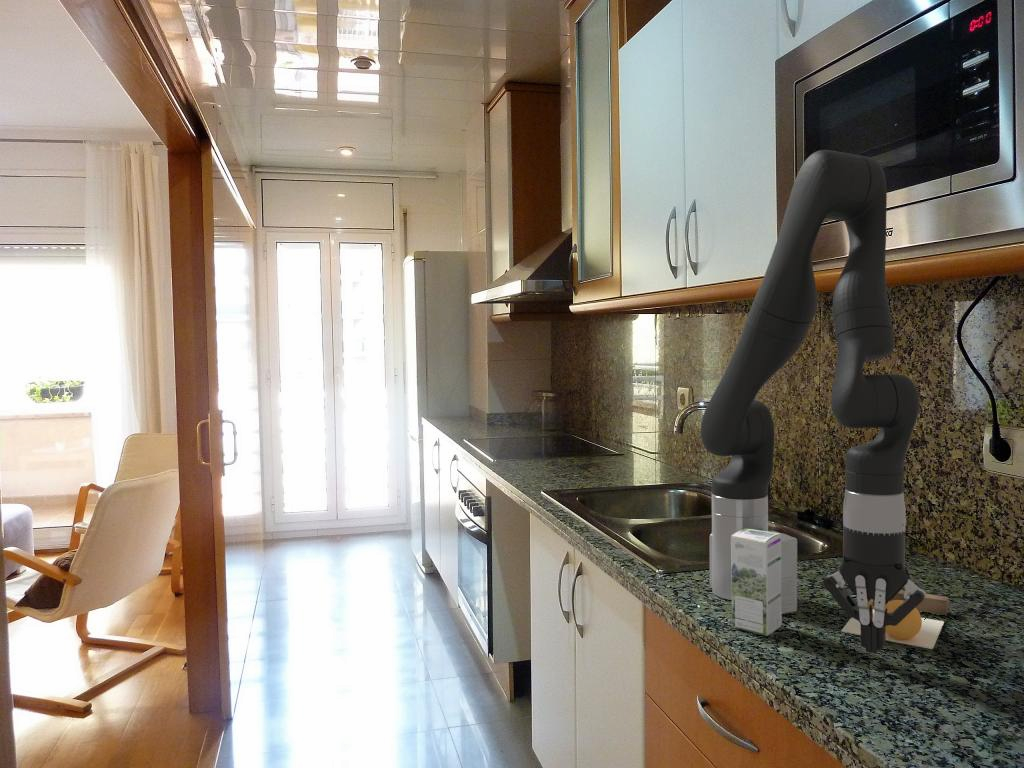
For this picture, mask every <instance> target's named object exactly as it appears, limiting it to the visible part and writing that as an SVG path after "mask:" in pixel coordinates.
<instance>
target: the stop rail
mask: <svg viewBox="0 0 1024 768" xmlns="http://www.w3.org/2000/svg"><path fill="white" fill-rule="evenodd" d="M904 593H905V590H904V589H901V590H900V591H899V592H898V593H897V594H896V596H895V597H894V598H893V599H891V600H890V601H893V600H903V601H905V600H906V599H905V598H904ZM890 601H889V602H890ZM874 603H875V600H873V603H872V605H874ZM915 608H916V609H917V610H918V611H924V612H930V613H935V614H940V615H946V617H947V616H948V614H947V613H949V597H948V596H942V595H937V594H932V593H931V594H929V593H926V596H925V597H924V599H923V601H922V602H921V603H920V604H918V605H917V606H916V607H915Z"/></svg>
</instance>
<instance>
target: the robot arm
mask: <svg viewBox="0 0 1024 768" xmlns="http://www.w3.org/2000/svg"><path fill="white" fill-rule="evenodd" d="M887 193H888V191H887V181H886V173H885V170H884V169H883V166H882V165H881V163H880V162H879V161H878V160H876V159H875V158H872V157H868V156H866V155H865V156H864V155H860V154H853V153H847V152H841V151H837V150H830V149H820V150H817V151H815V152H813V153H811V154H810V155H809V156H808V157H807V158H806V159H805V161H804V162H803V164H802V165H801V166H800V168H799V170H798V172H797V175H796V178H795V181H794V182H793V185H792V188H791V192H790V194H789V199H788V201H787V206H786V209H785V213H784V216H783V219H782V224H781V227H780V230H779V233H778V236H777V240H776V242H775V246H774V249H773V251H772V255H771V258H770V259H769V263H768V265H767V268H766V271H765V273H764V276H763V278H762V280H761V283H760V286H759V288H758V290H757V292H756V295H755V297H754V299H753V301H752V304H751V307H750V309H749V312H748V315H747V317H746V320H745V323H744V326H743V328H742V331H741V334H740V336H739V338H738V341H737V344H736V346H735V348H734V350H733V352H732V355H731V357H730V360H729V362H728V365H727V366H726V369H725V370H724V373H723V375H722V377H721V379H720V381H719V383H718V384H717V387H716V388H715V390H714V393H713V394H712V396H711V398H710V400H709V401H708V404H707V405H706V408H705V409H704V413H703V414H702V419H701V422H700V430H699V431H700V439H701V442H702V445H703V447H704V449H705V450H706V451H707V452H708V453H710V454H712V455H715V456H718V457H719V456H720V457H731V459H730V461H729V463H728V465H727V466H726V467H725V468H724V469H723V470H721V471H720V472H718V473H717V474H715V475H714V476H713V477H712V480H711V533H710V534H709V538H708V539H709V588H711V589H712V590H711V591H712V593H713V595H715V596H717V597H719V598H721V599H725V600H729V601H730V600H731V601H732V575H731V572H732V570H731V537H732V536H731V535H733V534H735V533H736V532H738V531H740V530H743V529H753V530H760V531H769V511H768V510H769V495H768V493H769V485H770V482H771V481H772V478H773V473H774V472H773V471H774V453H775V452H774V451H775V425H774V418H773V415H772V413H771V411H770V409H769V407H767V405H766V404H765V403H764V402H762V401H760V400H756V397H757V395H758V393H759V392H760V390H761V389H762V388H763V387H764V385H765V384H767V382H769V380H770V379H771V378H772V377H773V376H775V374H776V373H777V372H778V371H779V370H780V369H782V368H783V366H785V365H786V364H787V363H788V361H790V359H792V358H793V356H794V355H795V354H796V353H797V352H798V351H799V349H800V347H801V346H802V344H803V342H804V341H805V338H806V336H807V334H808V332H809V329H810V327H811V325H812V322H813V320H814V318H815V315H816V313H817V309H818V303H819V302H818V301H819V300H818V291H817V283H816V278H815V273H814V268H813V253H814V248H815V247H814V246H815V243H816V241H817V238H818V234H819V233H820V230H821V227H822V225H823V222H824V221H825V219H826V220H834V221H840V222H844V224H845V227H846V230H847V235H848V240H849V241H848V242H849V250H848V256H847V259H846V261H845V264H844V267H843V268H842V271H841V273H840V275H839V278H838V280H837V283H836V285H835V288H834V291H833V297H832V314H833V315H832V316H833V323H834V329H835V330H834V331H835V338H836V345H837V346H836V347H837V349H836V350H837V351H836V352H837V353H836V354H837V355H836V363H835V364H836V365H835V373H834V379H833V385H832V389H831V397H830V407H831V411H832V414H833V415H834V417H835V419H836V420H837V422H838V423H839V424H840V425H842V426H843V427H845V428H848V429H875V428H877V429H878V428H879V430H878V433H877V434H876V435H875V438H873V440H871V441H869V442H865V443H862V444H859V445H855V446H852V447H850V448H849V449H848V450H847V451H846V455H845V471H844V473H845V474H844V475H845V482H844V483H845V485H844V486H845V491H844V499H843V505H842V507H843V509H842V511H843V512H842V515H843V516H842V517H843V518H842V521H843V523H842V527H843V529H842V532H843V533H842V535H843V537H842V538H843V539H842V540H843V541H842V552H843V553H842V561H841V564H840V565H839V567H838V571H836V572H834V573H829V574H828V575H827V576H826V577H825V578H824V579H823V581H822V584H823V586H824V587H825V588H826V589H827V591H828V592H829V594H830V595H831V596H832V597H833V600H835V602H836V603H837V604H838V606H839V607H840V609H841V610H842V611H843V612H844V614H845V615H846V616H847V618H849V619H851V618H854V619H856V620H858V621H859V622H860V625H861V635H860V645H861V647H862V648H865V652H866V653H869V654H875V655H878V654H879V652H880V651H882V650H884V648H885V646H886V641H887V640H885V639H886V637H885V636H886V626H887V625H892V626H896V625H897V624H898V623H899V622H901V621H902V620H903V619H904V618H905V617H906V616H907V615H908V614H909V613H910V612H911V611H912V610H913V609H914V608H915V607H916V606H917V605H918V604H920V603H921V602H922V601H923V599H924V597H925V596H926V594H927V590H926V589H925V588H924V587H919V586H918V585H916V584H915V583H914V582H912V580H911V579H910V573H909V571H908V570H907V567H906V526H907V517H906V515H907V514H906V513H907V512H906V505H905V503H906V502H905V497H904V496H905V493H904V487H905V485H904V484H905V483H904V481H905V480H904V479H905V477H904V475H905V473H904V470H905V468H904V467H905V466H904V464H905V460H906V456H907V455H906V454H907V451H908V448H909V444H910V440H911V437H912V433H913V432H914V429H915V426H916V423H917V421H918V420H917V419H918V415H919V412H920V404H921V401H920V400H921V399H920V393H919V391H918V388H917V385H916V384H915V383H914V382H913V380H912V379H910V378H909V377H908V376H906V375H903V374H897V373H895V374H893V373H892V374H890V373H888V374H864V366H865V363H868V362H873V361H876V360H880V359H883V358H885V357H887V356H889V355H890V354H891V353H892V352H894V350H895V335H894V329H893V322H892V316H891V310H890V305H889V299H888V290H887V281H886V280H887V277H886V251H887V249H886V248H887V246H886V244H887V204H888V203H887V200H888V195H887ZM846 584H847V585H848V587H849V589H850V590H851V591H852V593H853V594H854V595H855V596H856V597H857V602H856V601H855V600H854V599H853V597H852V596H851V594H849V592H848V590H847V589H846V588H845V585H846ZM903 588H904V589H905V593H904V598H905V599H906V600H905V601H904V602H903V603H902V604H901V605H900V606H899V607H898V608H897V609H896V610H895V611H894V612H892V613H887V612H888V605H889V601H890V600H891V599H893V598H894V597H895V596H896V594H897V593H898V592H899V591H900V590H903ZM873 600H875V603H874V604H872V603H873ZM873 609H874V610H875V611H874V622H873V621H872V620H873Z"/></svg>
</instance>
